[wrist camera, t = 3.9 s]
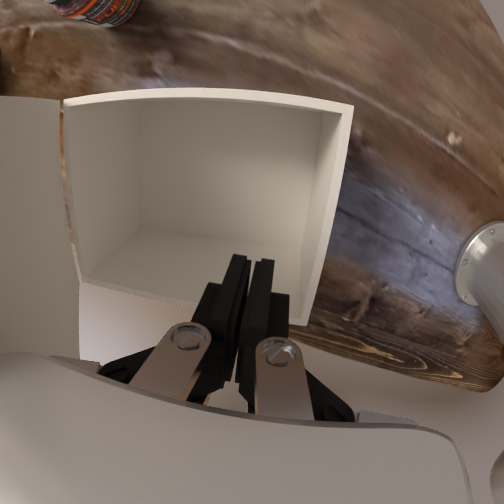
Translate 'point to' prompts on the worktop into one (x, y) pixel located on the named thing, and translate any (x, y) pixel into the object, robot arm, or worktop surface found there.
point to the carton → (203, 188)
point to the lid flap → (35, 234)
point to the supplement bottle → (97, 10)
